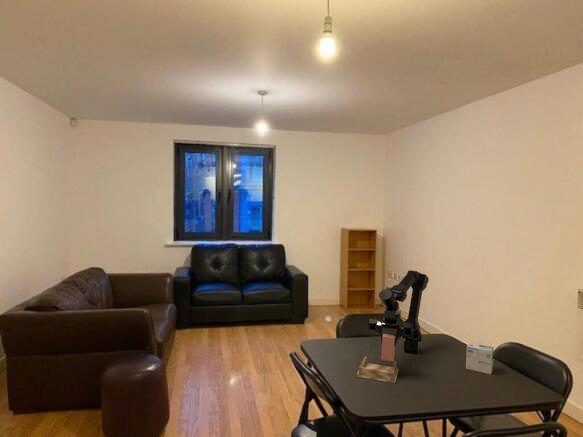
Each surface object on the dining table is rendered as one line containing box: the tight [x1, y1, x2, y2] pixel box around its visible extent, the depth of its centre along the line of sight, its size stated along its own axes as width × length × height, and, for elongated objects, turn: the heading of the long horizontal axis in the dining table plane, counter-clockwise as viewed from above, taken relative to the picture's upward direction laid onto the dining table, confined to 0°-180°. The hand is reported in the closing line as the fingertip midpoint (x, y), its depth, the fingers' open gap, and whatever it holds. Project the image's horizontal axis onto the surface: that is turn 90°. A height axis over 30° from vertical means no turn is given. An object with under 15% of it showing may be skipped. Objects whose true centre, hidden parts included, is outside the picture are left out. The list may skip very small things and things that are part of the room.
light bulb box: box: [465, 342, 495, 375], centre depth 181 cm, size 11×7×11 cm, turn 58°
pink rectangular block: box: [380, 333, 396, 362], centre depth 171 cm, size 5×4×10 cm
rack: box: [356, 355, 399, 384], centre depth 173 cm, size 16×14×4 cm
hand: (388, 344), depth 170 cm, fingers closed on pink rectangular block, 5 cm apart
